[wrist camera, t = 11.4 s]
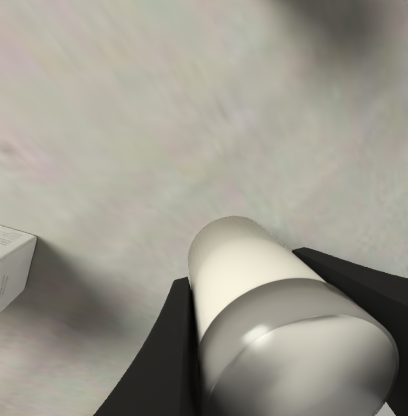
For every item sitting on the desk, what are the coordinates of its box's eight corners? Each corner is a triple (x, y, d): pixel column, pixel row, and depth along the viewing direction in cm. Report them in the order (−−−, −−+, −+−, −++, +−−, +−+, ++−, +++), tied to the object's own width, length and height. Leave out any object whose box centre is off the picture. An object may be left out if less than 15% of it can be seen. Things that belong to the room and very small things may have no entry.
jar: (277, 283, 13) (391, 430, 6) (196, 305, 12) (221, 487, 6) (269, 205, 11) (408, 285, 5) (176, 226, 11) (179, 349, 4)
